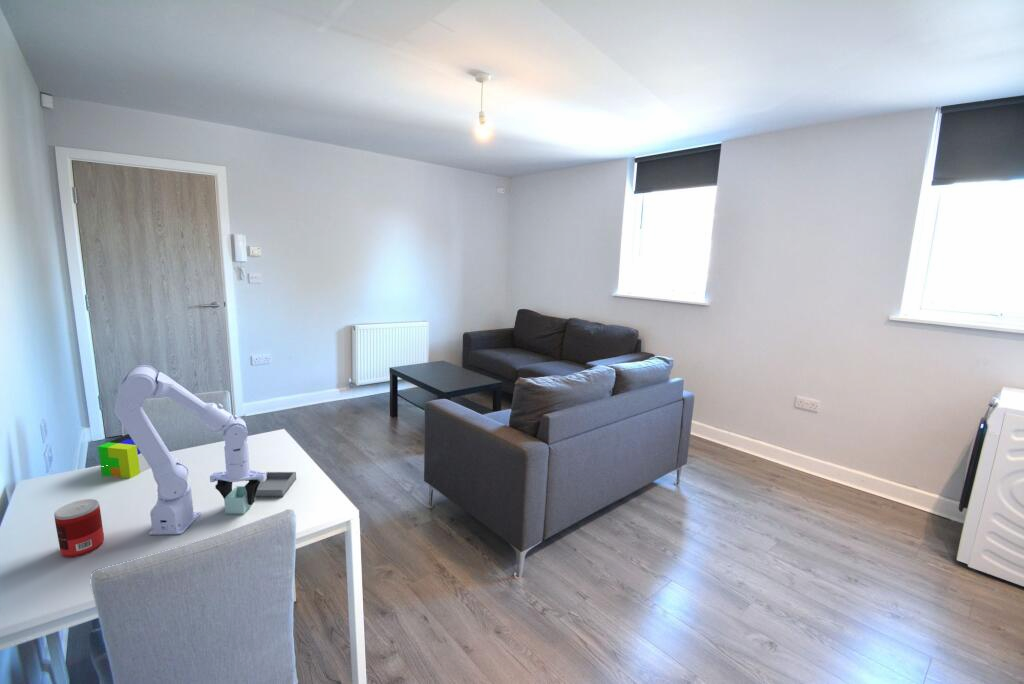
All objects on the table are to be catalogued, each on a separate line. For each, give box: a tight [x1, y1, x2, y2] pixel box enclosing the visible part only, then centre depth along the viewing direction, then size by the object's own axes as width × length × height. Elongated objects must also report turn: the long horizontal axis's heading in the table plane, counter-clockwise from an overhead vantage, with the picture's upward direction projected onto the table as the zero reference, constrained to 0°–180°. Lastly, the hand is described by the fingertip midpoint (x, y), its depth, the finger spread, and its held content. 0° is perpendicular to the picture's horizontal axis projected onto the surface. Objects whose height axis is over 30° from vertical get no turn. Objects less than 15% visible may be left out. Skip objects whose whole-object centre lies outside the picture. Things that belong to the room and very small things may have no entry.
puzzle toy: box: [97, 433, 151, 479], centre depth 147 cm, size 10×10×10 cm
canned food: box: [54, 498, 105, 558], centre depth 110 cm, size 8×8×11 cm
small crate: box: [223, 485, 256, 516], centre depth 130 cm, size 5×7×5 cm
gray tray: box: [255, 471, 297, 499], centre depth 141 cm, size 9×11×2 cm
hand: (240, 503), depth 130 cm, fingers open, 5 cm apart
